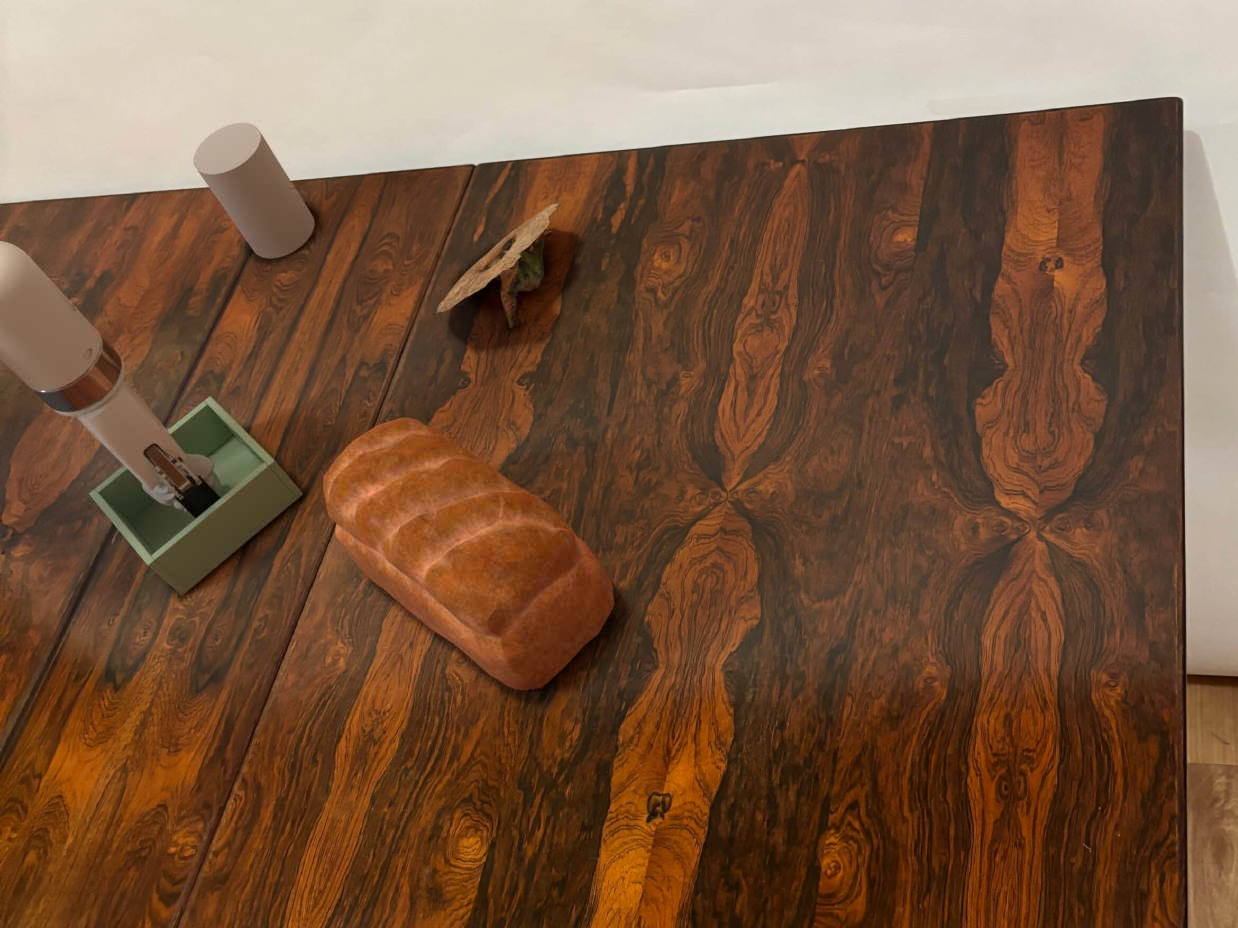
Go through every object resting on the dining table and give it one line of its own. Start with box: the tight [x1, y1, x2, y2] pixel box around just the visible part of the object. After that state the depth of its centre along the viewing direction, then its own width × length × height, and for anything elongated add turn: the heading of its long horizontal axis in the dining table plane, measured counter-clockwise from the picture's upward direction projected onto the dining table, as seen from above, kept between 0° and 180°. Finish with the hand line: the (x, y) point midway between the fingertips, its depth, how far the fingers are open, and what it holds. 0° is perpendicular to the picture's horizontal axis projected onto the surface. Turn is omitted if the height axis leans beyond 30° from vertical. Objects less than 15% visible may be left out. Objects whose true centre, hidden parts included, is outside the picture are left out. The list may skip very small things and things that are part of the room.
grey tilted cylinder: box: [193, 122, 315, 259], centre depth 134 cm, size 8×8×12 cm
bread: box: [322, 417, 615, 691], centre depth 102 cm, size 14×26×16 cm, turn 47°
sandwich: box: [436, 202, 561, 329], centre depth 123 cm, size 18×14×8 cm
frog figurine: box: [142, 454, 221, 512], centre depth 117 cm, size 6×7×7 cm
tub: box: [88, 395, 304, 596], centre depth 118 cm, size 16×14×6 cm
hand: (194, 492), depth 118 cm, fingers closed on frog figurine, 6 cm apart
